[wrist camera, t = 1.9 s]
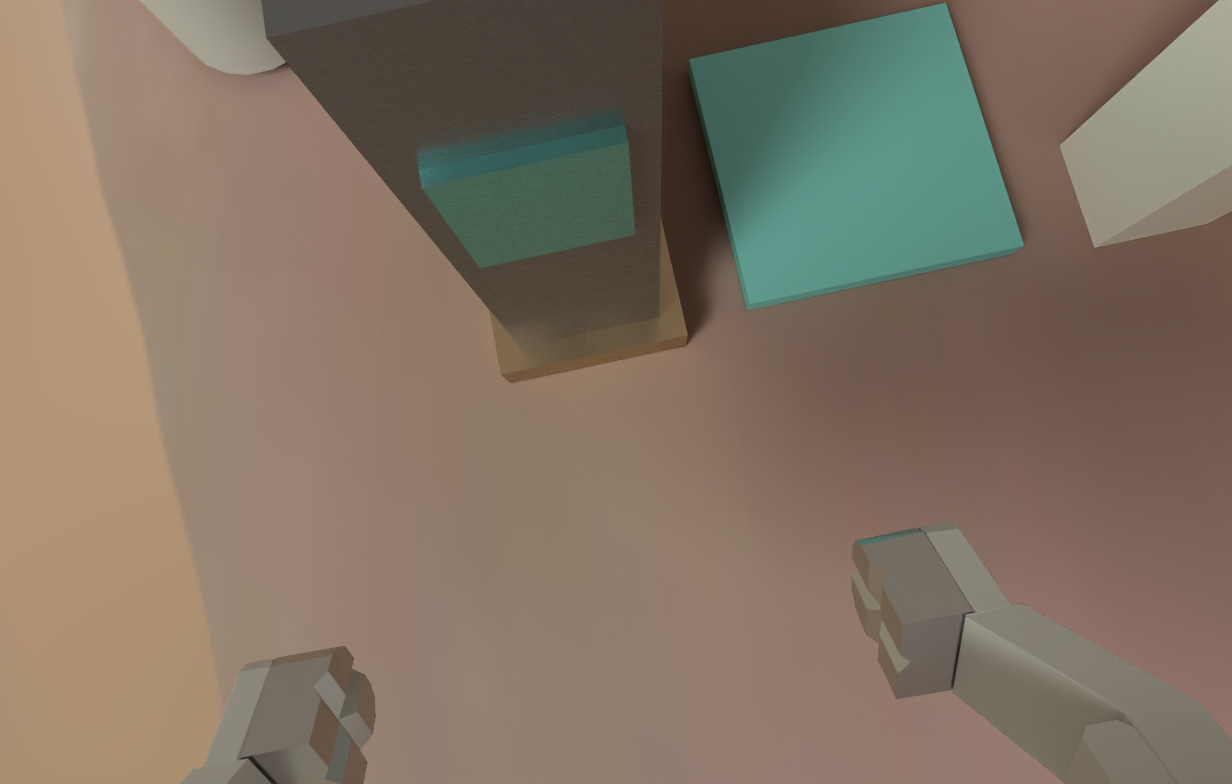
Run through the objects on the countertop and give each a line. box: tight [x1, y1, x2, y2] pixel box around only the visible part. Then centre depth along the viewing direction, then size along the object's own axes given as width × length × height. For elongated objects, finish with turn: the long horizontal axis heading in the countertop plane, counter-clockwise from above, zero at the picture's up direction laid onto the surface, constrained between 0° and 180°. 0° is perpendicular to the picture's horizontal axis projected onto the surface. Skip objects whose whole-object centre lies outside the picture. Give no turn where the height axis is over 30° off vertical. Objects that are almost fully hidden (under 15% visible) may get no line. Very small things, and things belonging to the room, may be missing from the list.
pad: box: [688, 3, 1024, 310], centre depth 32 cm, size 12×12×1 cm
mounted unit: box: [261, 0, 688, 383], centre depth 22 cm, size 15×8×22 cm, turn 12°
